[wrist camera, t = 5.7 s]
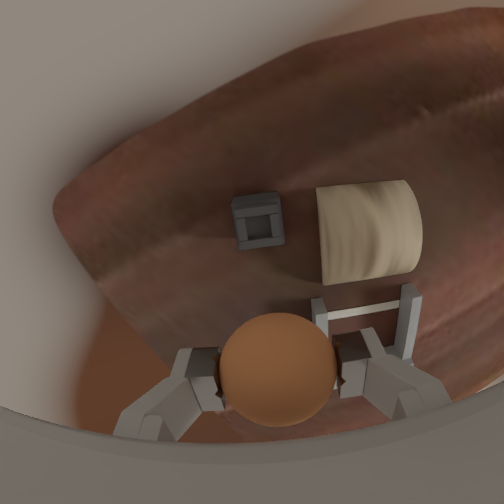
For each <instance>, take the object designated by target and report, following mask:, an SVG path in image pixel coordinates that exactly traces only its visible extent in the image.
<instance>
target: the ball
mask: <svg viewBox="0 0 504 504" xmlns="http://www.w3.org/2000/svg"><path fill="white" fill-rule="evenodd" d="M336 377H337V360H336V355H335V352H334V349H333V347H332V344H331V342H330V341H329V339H328V338H327V336H326V335H325V333H324V332H323V331H322V330H321V329H320V328H319V327H317V326H316V325H315V324H314V323H312V322H310V321H309V320H307V319H305V318H303V317H300V316H298V315H294V314H289V313H270V314H264V315H261V316H258V317H255V318H253V319H251V320H249V321H247V322H246V323H244V324H243V325H242V326H240V327H239V328H238V329H237V330H236V331H235V332H234V333H233V334H232V336H231V337H230V338H229V339H228V341H227V343H226V344H225V346H224V348H223V351H222V354H221V358H220V363H219V378H220V384H221V387H222V390H223V392H224V395H225V397H226V398H227V400H228V402H229V403H230V404H231V405H232V407H233V408H234V409H235V410H236V411H237V412H238V413H239V414H241V415H242V416H243V417H245V418H247V419H248V420H250V421H252V422H255V423H258V424H261V425H264V426H271V427H283V426H289V425H294V424H297V423H300V422H302V421H304V420H306V419H308V418H309V417H311V416H313V415H314V414H315V413H317V412H318V411H319V410H320V409H321V408H322V407H323V406H324V404H325V403H326V402H327V400H328V399H329V397H330V395H331V393H332V391H333V389H334V386H335V382H336Z"/></svg>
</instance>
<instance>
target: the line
mask: <svg viewBox="0 0 504 504" xmlns="http://www.w3.org/2000/svg"><path fill="white" fill-rule="evenodd" d="M399 303H400V300H395V301H390V302H385V303H379V304H373V305H368V306H362V307H356V308H350V309H344V310H338V311H331V312H328V320H331V319H338V318H344V317H350V316H356V315H362V314H367V313H373V312H378V311H384V310H389V309H394V308H399Z"/></svg>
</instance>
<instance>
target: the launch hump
mask: <svg viewBox="0 0 504 504" xmlns="http://www.w3.org/2000/svg"><path fill="white" fill-rule="evenodd" d="M316 196H317V207H318V219H319V232H320V247H321V264H322V283H323V285H325V286H326V285H333V284H340V283H346V282H353V281H359V280H366V279H372V278H378V277H385V276H391V275H397V274H402V273H408V272H411V271H412V270H413V269H414V268H415V267H416V265H417V263H418V261H419V258H420V254H421V249H422V221H421V215H420V211H419V207H418V204H417V201H416V198H415V196H414V193H413V192H412V190H411V188H410V186H409V185H408V184H407V183H406V181H404V180H396V181H382V182H370V183H358V184H347V185H336V186H326V187H317V188H316Z"/></svg>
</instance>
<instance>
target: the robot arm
mask: <svg viewBox="0 0 504 504" xmlns="http://www.w3.org/2000/svg"><path fill="white" fill-rule="evenodd" d="M332 346H333V349H334V352H335V355H336V360H337V377H336V378H337V389H338V393H339V397H340V398H347V397H353V396H359V395H363V396H364V397H365V398H366V399H367V400H368V401H370V402H371V403H372V404H373V405H374V406H375V407H377V408H378V409H379V410H380V411H381V412H383V413H384V414H385V415H386V416H387V417H389V418H390V419H391V421H390V422H388V423H384V424H380V425H376V426H371V427H367V428H362V429H357V430H352V431H347V432H342V433H336V434H330V435H324V436H317V437H310V438H302V439H293V440H283V441H271V442H256V443H229V444H228V443H226V444H225V443H224V444H211V443H180V442H177V440H178V439H179V438H180V437H181V436H182V435H183V434H184V433H185V431H186V430H187V429H188V428H189V427H190V426H191V424H192V423H193V422H194V421H195V420H196V419H197V418H198V416H199V415H200V414H201V413H202V411H219V410H225V402H226V397H225V395H224V392H223V390H222V387H221V384H220V378H219V363H220V358H221V354H222V350H221V348H220V347H201V348H181V349H180V350H179V351H178V353H177V356H176V359H175V362H174V365H173V368H172V371H171V375H170V378H165V379H164V380H162V381H161V382H160V383H159V384H157V385H156V386H155V387H153V388H152V389H151V390H150V391H148V392H147V393H146V394H144V395H143V396H142V397H140V398H139V399H138V400H137V401H135V402H134V403H133V404H131V405H130V406H129V407H127V408H126V409H125V410H124V411H122V413H121V415H120V417H119V420H118V422H117V425H116V427H115V430H114V432H113V435H107V434H101V433H96V432H91V431H86V430H81V429H76V428H72V427H67V426H63V425H59V424H55V423H51V422H48V421H44V420H41V419H37V418H34V417H30V416H27V415H24V414H21V413H18V412H15V411H12V410H9V409H7V408H4V407H1V406H0V504H504V381H502V382H500V383H498V384H496V385H494V386H492V387H489V388H487V389H485V390H482V391H480V392H478V393H475V394H473V395H471V396H468V397H466V398H463V399H461V400H458V401H455V402H453V403H452V401H451V399H450V398H449V396H448V394H447V392H446V390H445V389H444V387H443V385H442V383H441V381H440V380H439V379H437V378H435V377H433V376H431V375H429V374H427V373H425V372H423V371H421V370H420V369H418V368H416V367H414V366H412V365H410V364H408V363H406V362H404V361H403V360H401V359H399V358H397V357H395V356H393V355H391V354H389V355H387V354H386V352H385V350H384V348H383V346H382V344H381V342H380V340H379V338H378V336H377V334H376V332H375V330H374V328H372V327H370V328H365V329H360V330H357V331H351V332H345V333H339V334H333V335H332Z"/></svg>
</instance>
